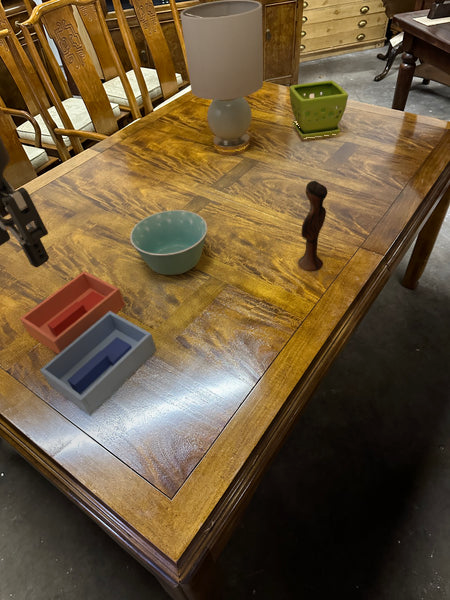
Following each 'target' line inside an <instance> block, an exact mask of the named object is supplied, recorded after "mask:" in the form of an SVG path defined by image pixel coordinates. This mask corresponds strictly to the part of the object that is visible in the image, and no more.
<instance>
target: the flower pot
mask: <svg viewBox="0 0 450 600" xmlns="http://www.w3.org/2000/svg"><path fill="white" fill-rule="evenodd" d="M288 89H289V99H290V107H291V110H292V114H293V117H294V120H292V121H293V122H292V124H293V123H294V124H293V126H294V128H295V127H296V128H295V130H296V131H297V133H298V132H299V133H298V134H299V136H300V137H301V138H302V139H303V138H306V137H315V136H322V137H315V138H307V139H303V141H307V140H308V141H309V140H315V139H323V138H330V137H335V136H338V134H339V133H341V129H340V127H339V126H338V125H339V124H340V122H341V120H342V119H343V116H344V113H345V111H346V108H347V103H348V98H349V94H348V92H347V91H346V90H345V89H344V88H343V87H342V86H341V85H340V84H338V83H337V82H336V81H334V80H323V81H315V82H313V81H312V82H307V83H299V84H293V85H290V86H289V88H288ZM311 95H313V97H311ZM294 121H297V123H298V125H299V126H298V125H296V123H295V122H294ZM299 127H300V128H299ZM332 134H336V135H332ZM324 135H329V136H324Z"/></svg>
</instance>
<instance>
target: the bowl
mask: <svg viewBox="0 0 450 600" xmlns="http://www.w3.org/2000/svg"><path fill="white" fill-rule="evenodd" d="M207 234H208V223H207V221H206V220H205V218H203V217H202V216H201V215H200V214H198V213H195V212H192V211H189V210H184V209H171V210H170V209H169V210H164V211H159V212H156V213H152V214H151V215H148V216H146V217H145V218H142V219H141V220H140V221H138V222H137V223H136V224H135V226H134V227H133V228H132V229H131V231H130V234H129V240H130V243H131V245H132V247H133V248H134V249H135V250H136V252H137V253H138V254H139V256H140V257H141V258H142V259H143V261H144V262H145V263H146V265H148V267H149V268H150V269H151V270H152V271H154V272H156V273H157V274H161V275H164V276H177V275H181V274H184V273H187V272H188V271H190V270H191V269H193V268H194V267H196V265H197V264H198V263H199V262H200V260H201V257H202V254H203V250H204V246H205V244H206V243H205V242H206V238H207Z"/></svg>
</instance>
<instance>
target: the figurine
mask: <svg viewBox="0 0 450 600" xmlns="http://www.w3.org/2000/svg"><path fill="white" fill-rule="evenodd" d="M328 194H329V193H328V188H327V187H326V186H325V185H323V184H321V183H320V182H318V181H316V180H311V181H308V183H307V184H306V185H305V196H306V197H307V199H308V201H309V205H310V206H309V211H308V213H307V215H306V216H305V218H304V219H303V222H302V223H301V224H302V225H301V231H300V233H301V237H302V238H303V239H305V251H304V253H303V255H302V256H300V258H299V259H298V260H297V266H298V267H299V268H300V269H303V270H305V271H308V272H316V271H318V270H321V269H322V267H323V266H324V262H323V260H322V259H321V258H320V257H319V256H318V244H319V243H318V240H319V235H320V232H321V230H322V228H323V225H324V223H325V220H326V216H327V211H326V208H325V206H324V200H325V199H326V198H327V196H328Z"/></svg>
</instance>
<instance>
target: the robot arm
mask: <svg viewBox="0 0 450 600" xmlns="http://www.w3.org/2000/svg"><path fill="white" fill-rule="evenodd" d="M10 161H11V157H10V154H9V152H8V150H7V147H6V145H5V143H4V141H3V139H2V137H1V136H0V247H1V246H2V245H4V244H6V243H7V242H9V241H10V240H11V235H10V234H9V232H10V233H11V234H12V235H13V237H14V238H15V239H16V240H17V242H18V243H19V245H20V248H21V249H22V251H23V253H24V254H25V257H26V259H27V260H28V262H29V264H30V266H32V267H34V268H39V267H40V266H43V265H44V264H46V263H47V262H48V261H49V259H50V256H49V254H48V252H47V249H46V247H45V246H44V243H43V242H42V240H41V239H42V238H44V237H45V236H47V235H49V232H48V229H47V227H46V226H45V223H44V221H43V220H42V217H41V216H40V213H39V211H38V210H37V208H36V205H35V204H34V201H33V199H32V197H31V196H30V194H29V191H28V190H27V189H26V188H25V187H23V186H22V187H20V188H18V189H15V188H14V186H13V185H12V184H11V183H10V181H8V180H7V179H6V178H5V176H4V171H5V169H6V168H7V167H8V165H9V164H10ZM7 216H10V217H9V218H5V217H7ZM8 231H9V232H8Z"/></svg>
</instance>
